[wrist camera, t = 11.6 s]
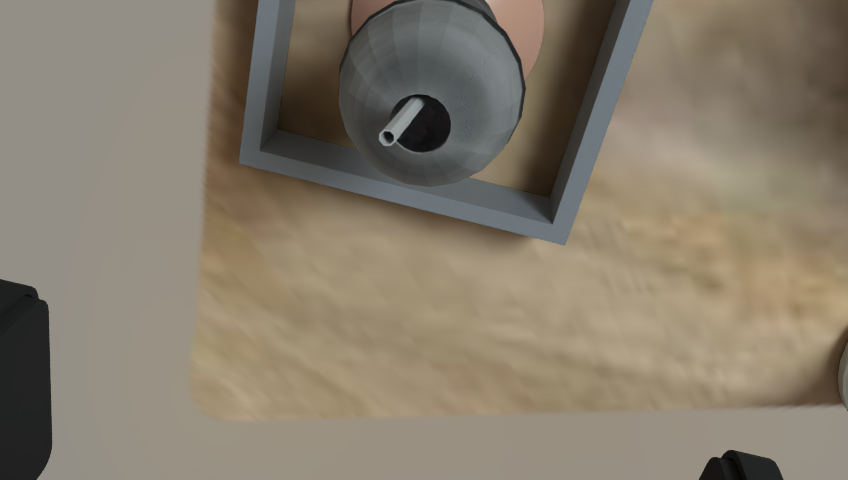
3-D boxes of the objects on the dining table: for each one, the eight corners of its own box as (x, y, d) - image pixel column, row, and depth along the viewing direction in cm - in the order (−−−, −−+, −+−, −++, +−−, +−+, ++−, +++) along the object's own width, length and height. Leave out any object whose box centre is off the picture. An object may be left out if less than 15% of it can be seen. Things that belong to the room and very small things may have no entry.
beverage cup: (413, 116, 42) (341, 310, 25) (359, -14, 40) (235, 101, 22) (540, 70, 41) (563, 245, 23) (494, -69, 38) (479, 8, 20)
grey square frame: (678, -117, 36) (694, -113, 33) (561, 217, 45) (564, 245, 42) (305, -214, 36) (286, -220, 33) (257, 141, 44) (238, 163, 41)
